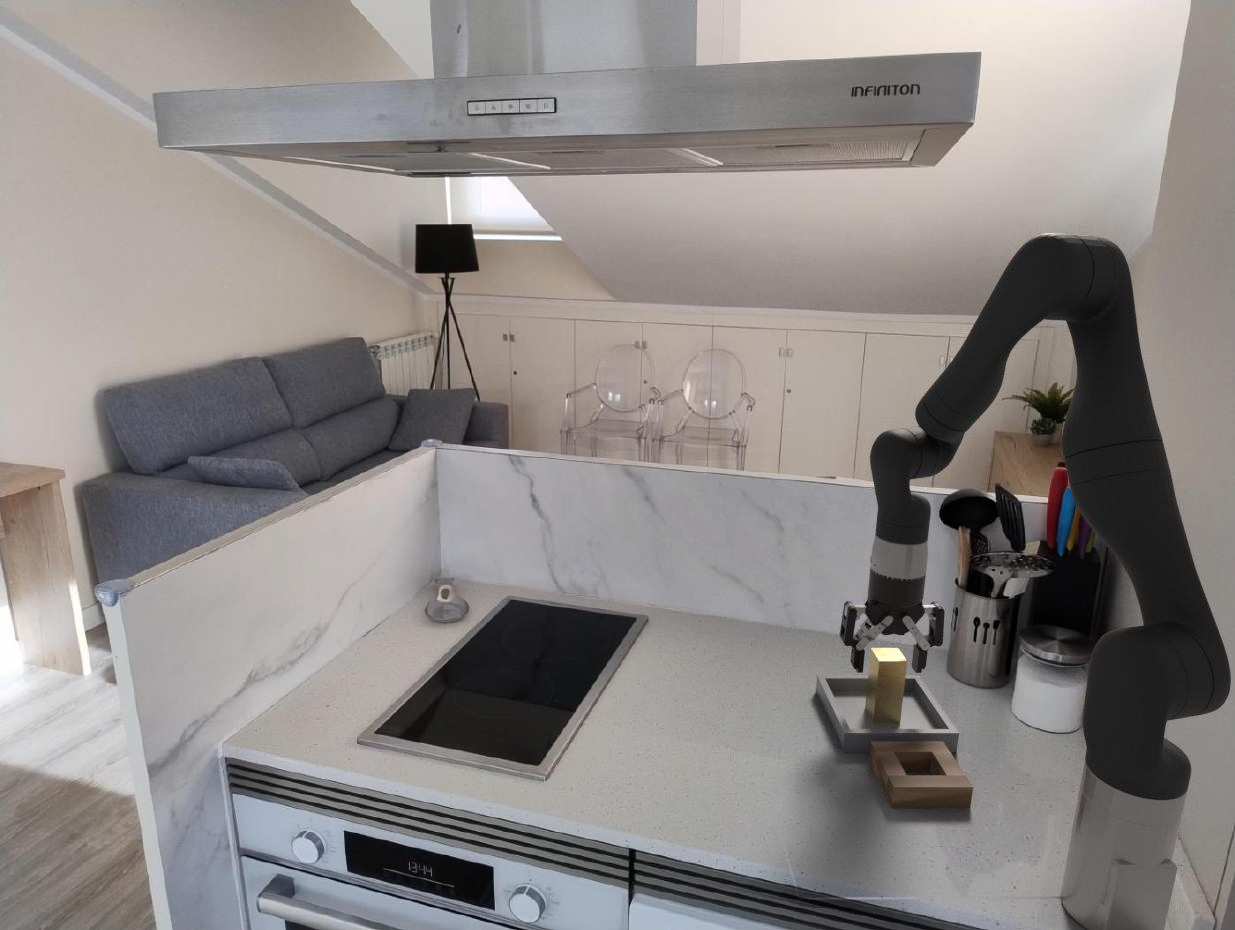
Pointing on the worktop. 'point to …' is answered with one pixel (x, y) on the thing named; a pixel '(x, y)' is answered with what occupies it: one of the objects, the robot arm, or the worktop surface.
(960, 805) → the socket block
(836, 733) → the parts tray
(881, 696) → the pin
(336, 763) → the worktop surface
